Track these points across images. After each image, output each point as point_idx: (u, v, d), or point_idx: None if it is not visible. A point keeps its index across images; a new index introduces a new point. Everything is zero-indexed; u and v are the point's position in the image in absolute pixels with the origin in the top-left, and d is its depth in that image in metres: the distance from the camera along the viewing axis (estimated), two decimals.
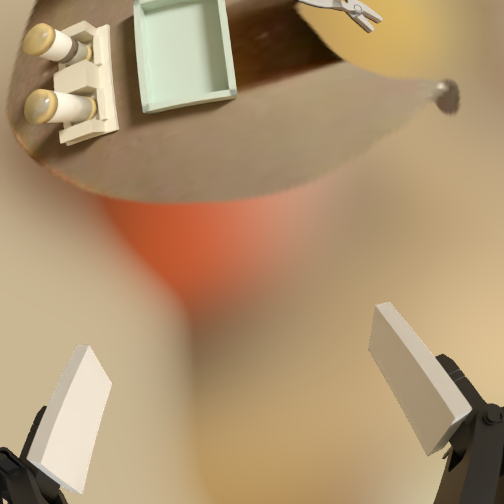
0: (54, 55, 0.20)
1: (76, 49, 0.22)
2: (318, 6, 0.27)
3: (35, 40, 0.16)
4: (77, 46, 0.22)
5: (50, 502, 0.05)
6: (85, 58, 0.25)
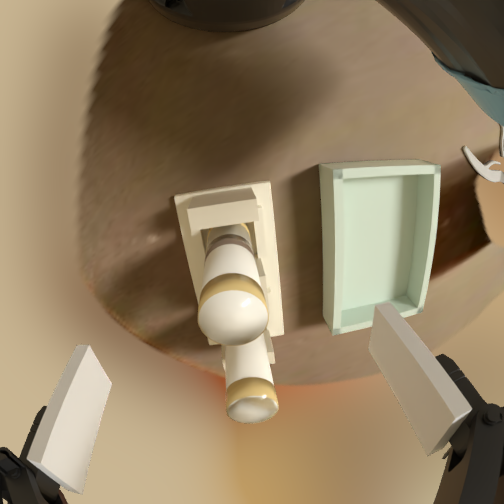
0: None
1: None
2: (490, 180, 0.26)
3: (235, 324, 0.14)
4: None
5: (50, 502, 0.05)
6: None
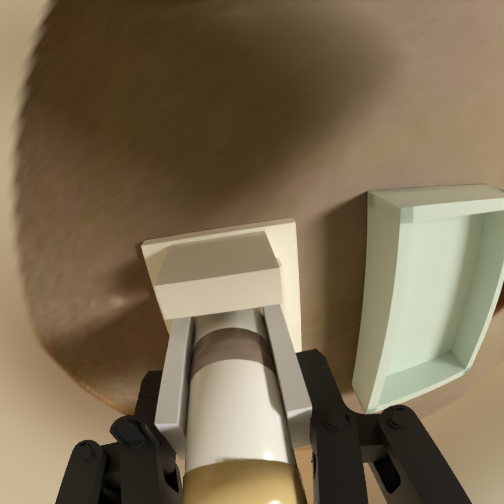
0: None
1: None
2: None
3: None
4: (272, 356, 0.12)
5: None
6: None
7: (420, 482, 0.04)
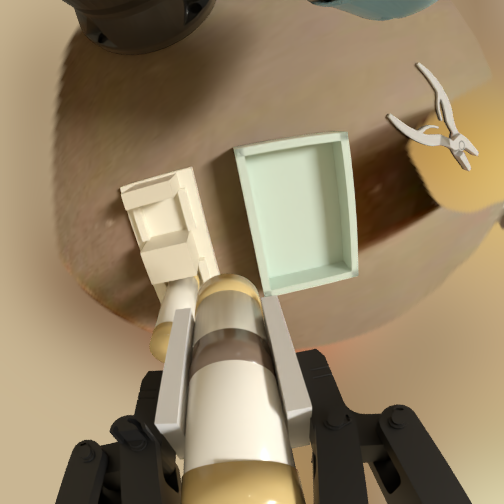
0: None
1: None
2: None
3: None
4: None
5: None
6: None
7: (420, 482, 0.04)
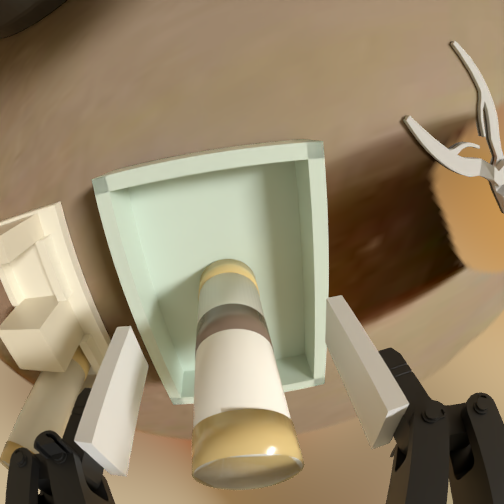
0: None
1: None
2: (462, 174, 0.17)
3: (252, 477, 0.07)
4: None
5: (91, 489, 0.06)
6: None
7: (491, 465, 0.04)
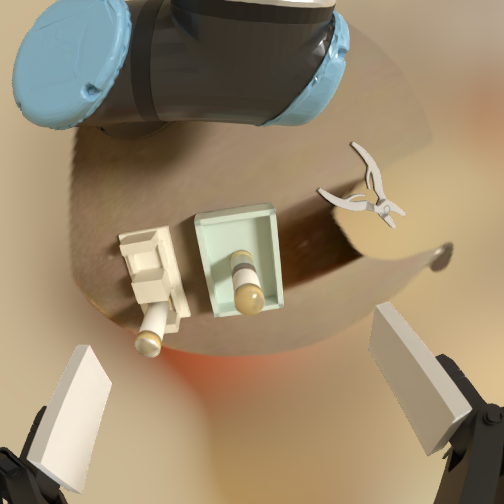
0: None
1: None
2: None
3: (250, 305, 0.33)
4: None
5: (50, 502, 0.05)
6: None
7: None
